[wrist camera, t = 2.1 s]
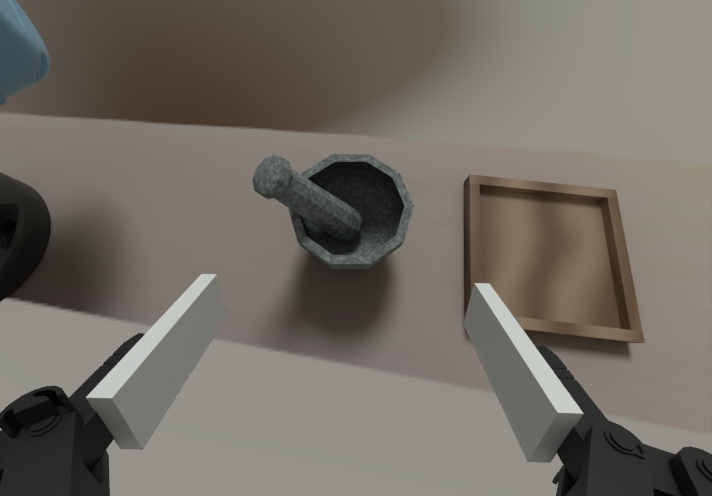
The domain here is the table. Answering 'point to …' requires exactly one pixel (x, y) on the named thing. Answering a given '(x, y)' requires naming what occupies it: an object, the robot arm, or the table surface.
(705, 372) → the table surface
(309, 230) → the mortar and pestle
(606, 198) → the walnut tray
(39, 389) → the robot arm
